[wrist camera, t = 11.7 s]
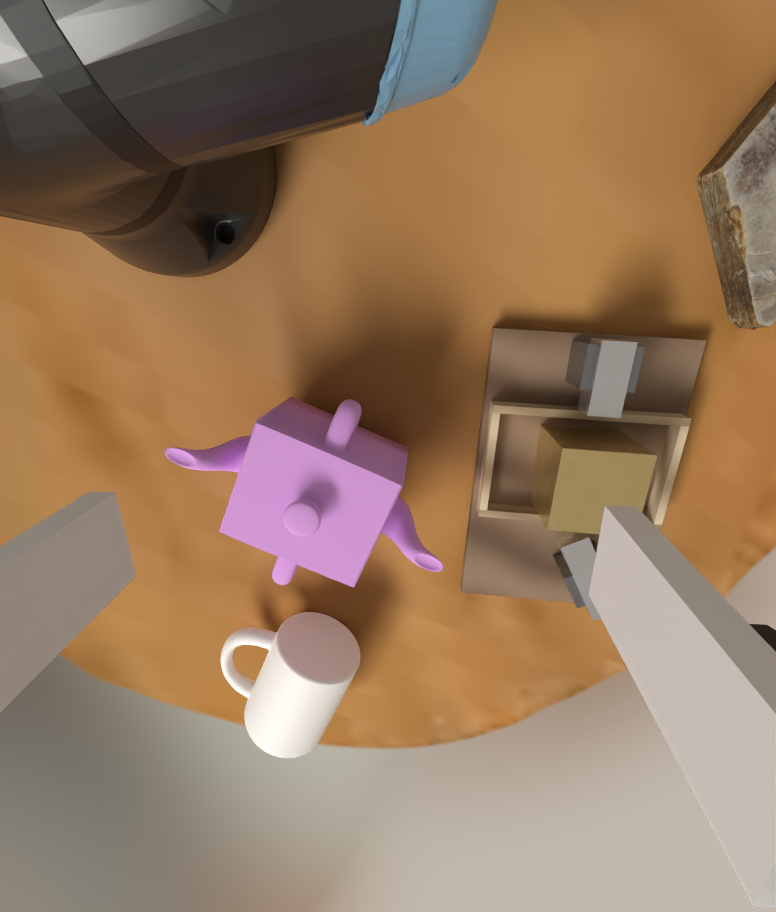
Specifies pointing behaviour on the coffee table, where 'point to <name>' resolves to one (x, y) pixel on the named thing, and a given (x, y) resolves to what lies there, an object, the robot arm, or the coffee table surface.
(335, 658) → the mug
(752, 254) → the stone
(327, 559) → the teapot
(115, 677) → the coffee table surface
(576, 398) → the framed base plate
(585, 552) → the shafts
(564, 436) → the gold cube
